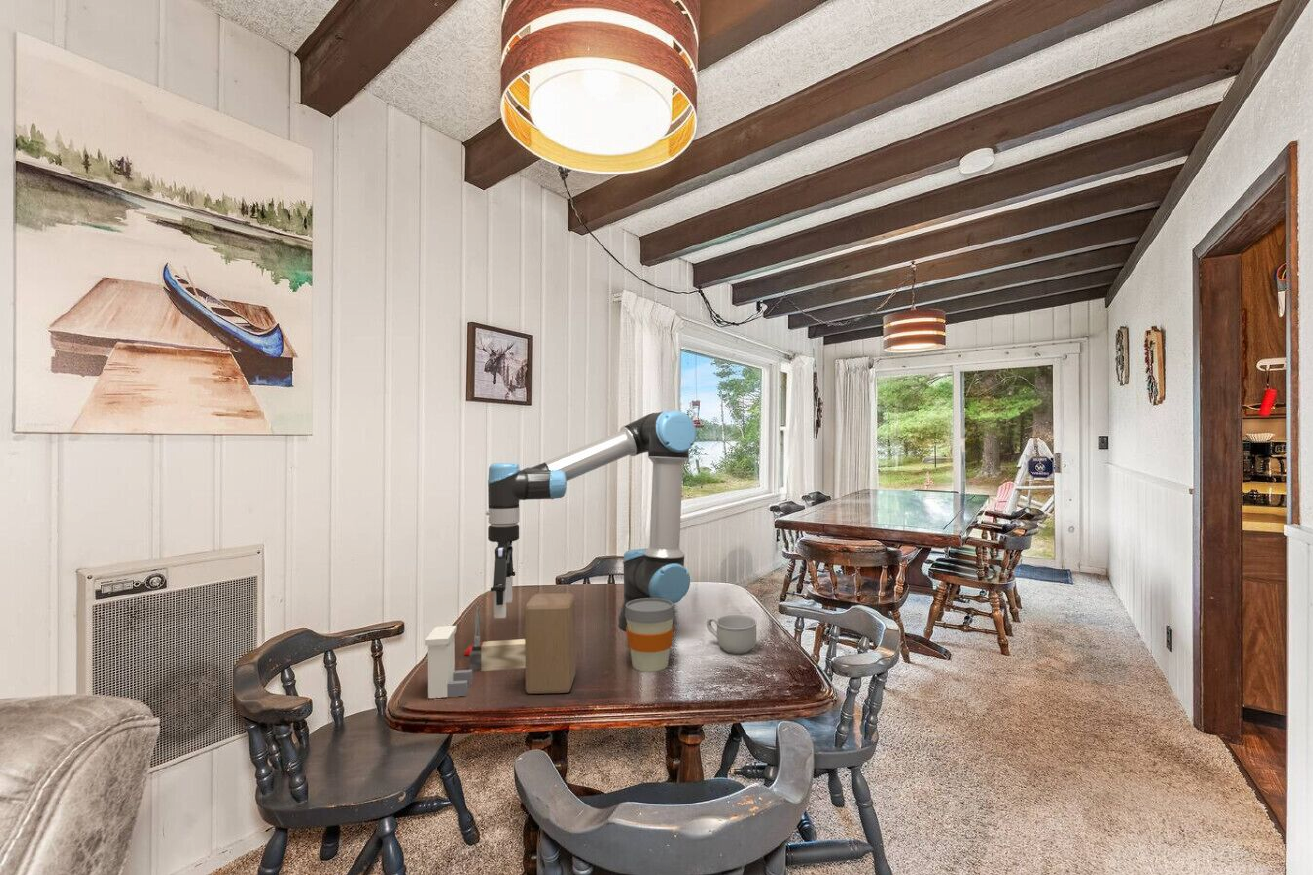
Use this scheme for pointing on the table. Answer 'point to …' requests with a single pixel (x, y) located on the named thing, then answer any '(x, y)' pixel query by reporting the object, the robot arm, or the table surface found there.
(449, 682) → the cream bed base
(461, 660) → the table surface
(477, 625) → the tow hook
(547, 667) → the block
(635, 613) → the reusable coffee cup
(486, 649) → the rail
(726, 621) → the teacup
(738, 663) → the table surface
